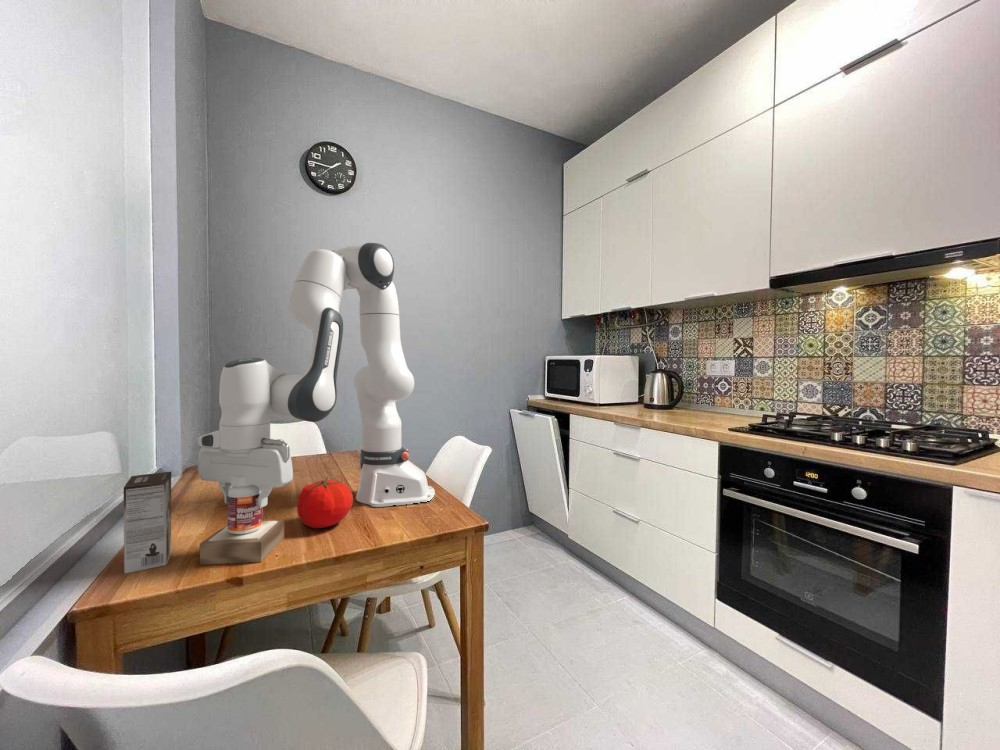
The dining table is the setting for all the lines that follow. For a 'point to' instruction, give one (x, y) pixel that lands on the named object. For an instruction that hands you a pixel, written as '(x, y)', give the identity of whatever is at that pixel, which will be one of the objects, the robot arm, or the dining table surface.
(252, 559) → the base
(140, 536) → the coffee box
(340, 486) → the tomato
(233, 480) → the pill bottle
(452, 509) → the dining table surface
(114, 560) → the dining table surface
